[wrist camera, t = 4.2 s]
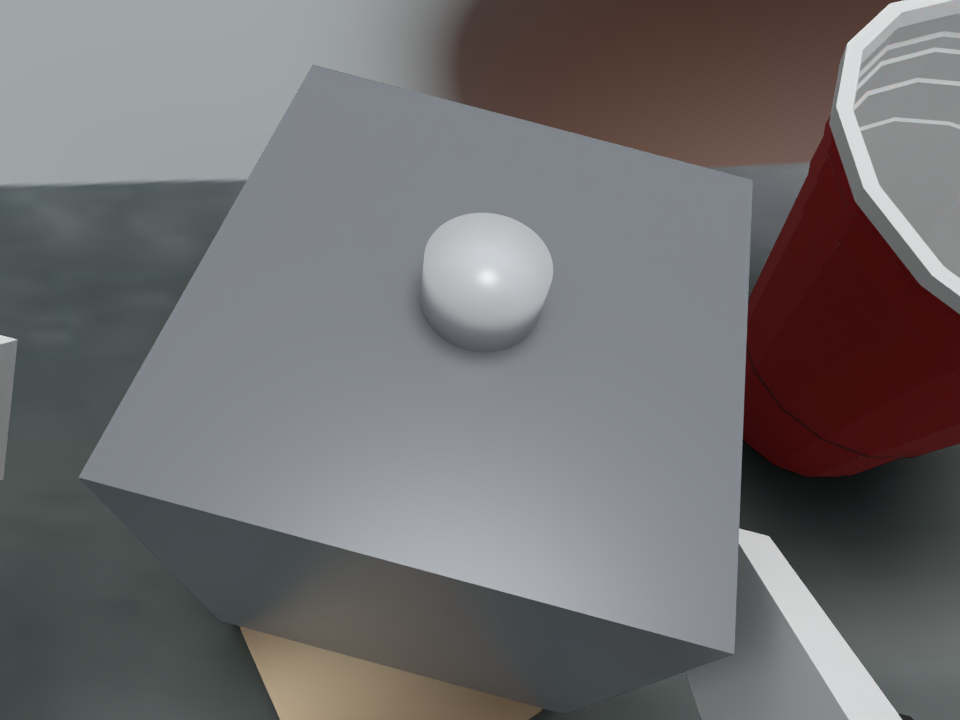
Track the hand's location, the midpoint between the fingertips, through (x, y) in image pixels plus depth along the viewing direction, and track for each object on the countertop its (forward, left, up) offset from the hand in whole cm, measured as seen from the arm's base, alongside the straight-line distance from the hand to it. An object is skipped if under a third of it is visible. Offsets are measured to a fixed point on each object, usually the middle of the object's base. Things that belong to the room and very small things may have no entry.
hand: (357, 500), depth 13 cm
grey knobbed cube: (+1, -3, -7) cm, 8 cm away
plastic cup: (-2, -16, -8) cm, 18 cm away
